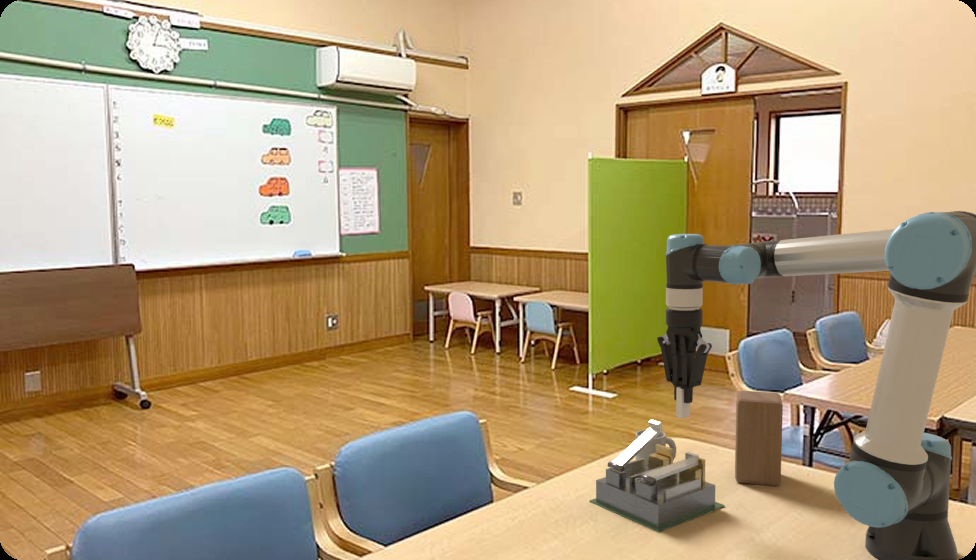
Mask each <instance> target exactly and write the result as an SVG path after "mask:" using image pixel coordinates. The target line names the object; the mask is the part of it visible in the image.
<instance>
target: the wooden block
mask: <svg viewBox="0 0 976 560" xmlns="http://www.w3.org/2000/svg"><path fill="white" fill-rule="evenodd" d="M735 398H736V399H735V400H736V403H735V404H736V406H735V407H736V408H735V411H736V412H735V443H734V444H735V445H734V447H735V450H734V453H735V455H734V457H735V458H734V474H735V475H734V479H735V481H736V482H737V483H742V484H751V485H752V484H753V485H763V486H774V487H777V486H780V485H781V482H782V481H781V480H782V478H781V476H782V451H783V449H782V448H783V447H782V446H783V444H782V443H783V411H784V409H783V408H784V406H783V405H784V404H783V401H782V397H781V395H780V393H778V392H771V391H770V392H769V391H754V390H753V391H751V390H739V391H737V393H736V397H735Z"/></svg>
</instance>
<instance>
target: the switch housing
mask: <svg viewBox="0 0 976 560" xmlns="http://www.w3.org/2000/svg"><path fill="white" fill-rule="evenodd" d="M673 463H674V460H673V449H672V448H670V447H669V446H663V445H660V444H657V445H656V453H653V454H650V455H649V463H648V464H646V465H645V459H644V458H641V459H638V460H636V459H635V460H631V461H630V462H629V463H628V464H627V465H626V466H625V467H624V471H623V472H621V471H618V470H615V469H613V468H610V467H608V468H606V469H605V477H602V478H598V479H596V480H595V481H596V482H595V495H596V496H595V498H592V499H590V500H589V502H590V503H592V504H594V505H597V506H598V507H601V508H603V509H606V510H608V511H610V512H613V513H614V514H617V515H619V516H621V517H624V518H625V519H628V520H630V521H633V522H635V523H637V524H639V525H641V526H643V527H647V528H648V529H651V530H653V531H655V532H658V533H660V532H663V531H665V530H667V529H671V528H672V527H675V526H679V525H681V524H683V523H686V522H688V521H691V520H694V519H696V518H699V517H701V516H703V515H707V514H709V513H711V512H714V511H717V510H719V509H720V510H721V509H722V508H724V507H725V506H726V505H725V504H722V503H720V502H717V501H716V484H713V483H711V482H708V481H706V459H705V458H702V457H699V461H698V465H697V466H694V467H692V468H689V469H686V470H684V471H681V472H678V473H676V474H673V475H670V476H667V477H665V478H662V479H659V480H657V481H656V482H655V484H652V483H649V482H647V481H644V480H642V479H639V478H638V475H639V473H642V474H645V473H648V472H651V471H654V470H656V469H659V468H662V467H665V466H667V465H670V464H673Z"/></svg>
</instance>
